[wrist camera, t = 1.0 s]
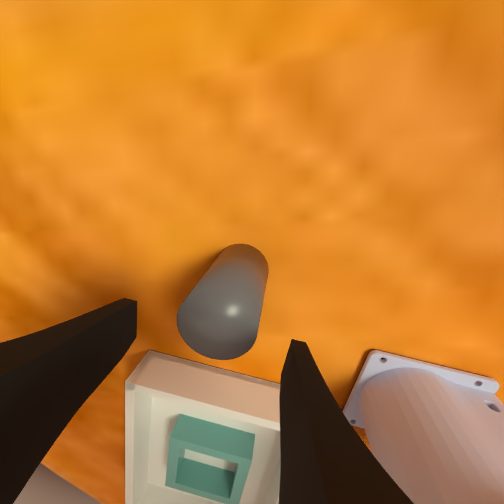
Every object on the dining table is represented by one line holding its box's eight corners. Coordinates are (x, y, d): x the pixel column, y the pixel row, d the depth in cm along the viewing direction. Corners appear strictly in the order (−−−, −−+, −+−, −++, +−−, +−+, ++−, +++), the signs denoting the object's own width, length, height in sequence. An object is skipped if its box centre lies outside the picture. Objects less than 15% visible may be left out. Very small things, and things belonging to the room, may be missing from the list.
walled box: (311, 391, 21) (315, 433, 18) (265, 514, 28) (262, 560, 25) (149, 349, 22) (125, 381, 19) (143, 478, 29) (125, 517, 26)
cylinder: (273, 250, 17) (265, 301, 11) (262, 297, 19) (249, 367, 12) (219, 238, 18) (180, 281, 11) (212, 286, 19) (174, 348, 13)
